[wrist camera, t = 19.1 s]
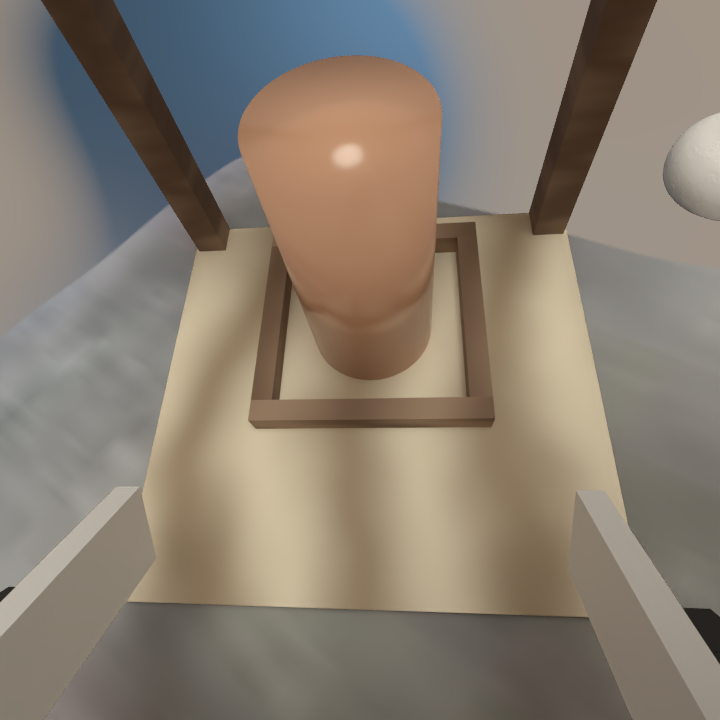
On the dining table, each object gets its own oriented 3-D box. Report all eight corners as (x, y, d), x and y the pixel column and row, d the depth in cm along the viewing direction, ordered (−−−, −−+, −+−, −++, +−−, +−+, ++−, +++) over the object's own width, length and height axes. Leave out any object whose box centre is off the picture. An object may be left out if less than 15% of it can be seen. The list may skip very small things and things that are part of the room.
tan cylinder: (429, 276, 26) (437, 47, 15) (433, 379, 23) (447, 188, 12) (319, 281, 26) (251, 64, 16) (310, 381, 24) (223, 202, 13)
